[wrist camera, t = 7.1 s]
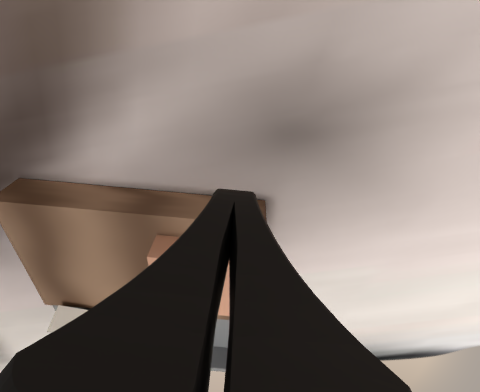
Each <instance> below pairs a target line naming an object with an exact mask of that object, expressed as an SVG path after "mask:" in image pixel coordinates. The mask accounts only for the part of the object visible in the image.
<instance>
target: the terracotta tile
mask: <svg viewBox="0 0 480 392" xmlns="http://www.w3.org/2000/svg"><path fill="white" fill-rule="evenodd" d="M178 238H179V237H176V236H165V235H156V237H155V240H154V242H153V244H152V246H151V249H150V251H149V253H148V256H147V261H148V266H149V265H151V264H152V263H153V262H154V261H155V260H156V259H157V258H159V257H160V256H161V255H162V254H163V253H164V252H165V251H166V250H167V249H168V248H169V247H170V246H171V245H172V244H173V243H174V242H175V241H176V240H177V239H178ZM218 315H222V316H229V263H228V268H227V273H226V278H225V282H224V287H223V292H222V297H221V302H220V307H219V311H218Z"/></svg>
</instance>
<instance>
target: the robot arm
mask: <svg viewBox="0 0 480 392" xmlns="http://www.w3.org/2000/svg"><path fill="white" fill-rule="evenodd" d="M228 263H229V336H228V348H227V360H226V373H225V384H224V392H412V391H411V389H410V388H409V386H408V385H406V384H405V383H404V382H403V381H402V380H401V379H400V378H399V377H398V376H397V375H395V374H394V373H393V372H392V371H391V370H390V369H389V368H388V367H386V366H385V365H384V364H383V363H382V362H381V361H380V360H379V359H378V358H377V357H375V356H374V355H373V354H372V353H371V352H370V351H369V350H368V349H366V348H365V347H364V346H363V345H362V344H361V343H360V342H359V341H358V340H357V339H356V338H355V337H354V336H353V335H352V334H351V333H350V332H349V331H348V330H347V329H346V328H345V327H344V326H343V325H342V324H341V323H340V322H339V321H338V320H337V319H336V317H335V316H334V315H333V314H332V313H331V312H330V311H329V310H328V309H327V307H326V306H325V305H324V304H323V303H322V302H321V301H320V300H319V299H318V297H317V296H316V295H315V294H314V293H313V292H312V290H311V289H310V288H309V287H308V285H307V284H306V283H305V282H304V280H303V279H302V278H301V277H300V275H299V274H298V273H297V271H296V270H295V268H294V267H293V266H292V264H291V263H290V261H289V260H288V258H287V257H286V255H285V254H284V252H283V251H282V249H281V248H280V246H279V244H278V243H277V241H276V239H275V237H274V236H273V234H272V232H271V230H270V228H269V226H268V224H267V222H266V220H265V218H264V216H263V214H262V212H261V209H260V207H259V204H258V202H257V198H256V195H255V194H254V193H253V192H248V191H237V190H227V189H217V190H216V191H215V192H214V194H213V196H212V197H211V199H210V201H209V202H208V204H207V205H206V206H205V208H204V209H203V210H202V212H201V213H200V214H199V215H198V217H197V218H196V219H195V220H194V222H193V223H192V224H191V225H190V226H189V227H188V229H187V230H186V231H185V232H184V233H183V234H182V235H181V236H180V237H179V238H178V239H177V240H176V241H175V242H174V243H173V244H172V245H171V246H170V247H169V248H168V249H167V250H166V251H165V252H164V253H163V254H162V255H161V256H160V257H159V258H157V259H156V260H155V261H154V262H153V263H152V264H151V265H149V266H148V267H147V268H146V269H144V270H143V271H142V272H141V273H139V274H138V275H137V276H136V277H135V278H133V279H132V280H131V281H129V282H128V283H127V284H125V285H124V286H123V287H121V288H120V289H118V290H117V291H116V292H114V293H113V294H111V295H110V296H108V297H107V298H105V299H104V300H102V301H101V302H100V303H98V304H97V305H95V306H94V307H92V308H91V309H89V310H88V311H86V312H85V313H83V314H82V315H80V316H79V317H77V318H75V319H74V320H72V321H71V322H69V323H67V324H65V325H64V326H62V327H60V328H59V329H57V330H55V331H54V332H52V333H50V334H49V335H47V336H45V337H44V338H42V339H40V340H39V341H37V342H35V343H34V344H32V345H30V346H28V347H27V348H25V349H23V350H21V351H19V352H18V353H16V354H15V356H14V357H13V358H12V359H11V361H10V362H9V363H8V364H7V366H6V367H5V368H4V369H3V370H2V372H1V373H0V392H208V388H209V380H210V371H211V362H212V354H213V345H214V337H215V328H216V322H217V316H218V311H219V307H220V302H221V297H222V292H223V287H224V282H225V278H226V273H227V268H228Z"/></svg>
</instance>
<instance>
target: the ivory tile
mask: <svg viewBox="0 0 480 392" xmlns="http://www.w3.org/2000/svg"><path fill="white" fill-rule="evenodd" d="M86 311H88V310H85V309H79V308H73V307H67V306H61V305H58V307H57V310H56V312H55V314H54V317H53V319H52V321H51V324H50V326H49V328H48V331H47V332H54V331H55V330H57V329H59V328H60V327H62V326H64V325H65V324H67V323H69V322H71V321H72V320H74V319H75V318H77V317H79V316H80V315H82V314H83V313H85V312H86Z"/></svg>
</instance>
